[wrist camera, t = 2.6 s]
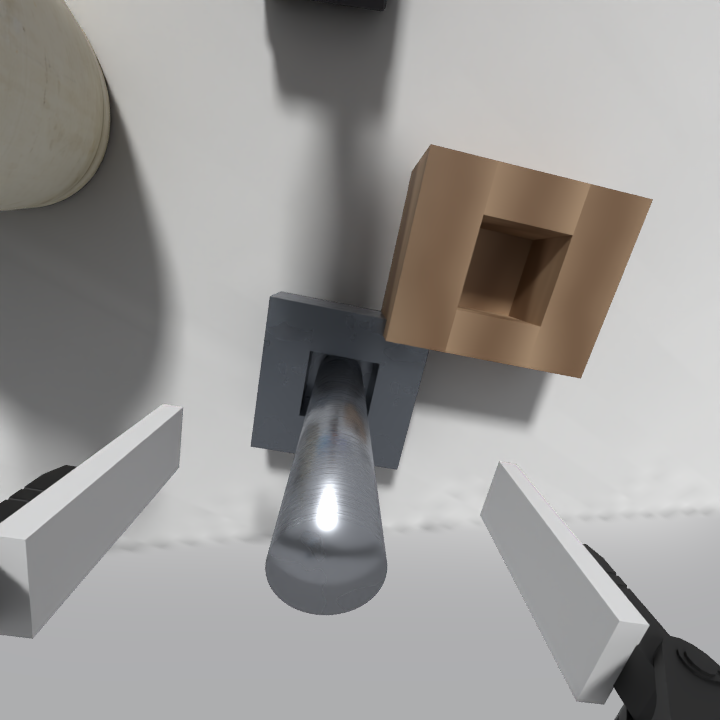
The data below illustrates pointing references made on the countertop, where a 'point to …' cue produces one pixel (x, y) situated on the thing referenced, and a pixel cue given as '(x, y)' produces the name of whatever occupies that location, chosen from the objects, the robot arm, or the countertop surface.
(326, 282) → the countertop surface
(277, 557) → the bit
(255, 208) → the countertop surface
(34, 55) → the jug
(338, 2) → the power drill
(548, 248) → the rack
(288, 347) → the socket block
